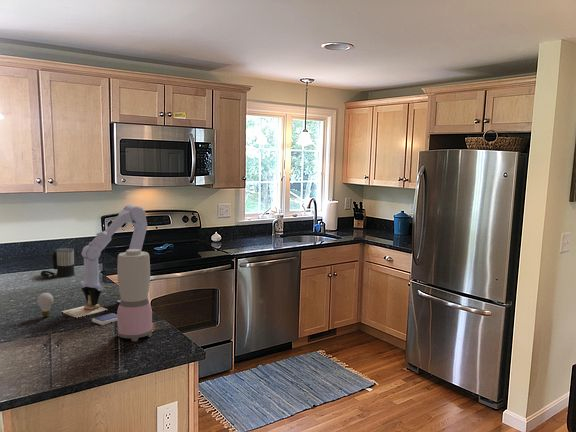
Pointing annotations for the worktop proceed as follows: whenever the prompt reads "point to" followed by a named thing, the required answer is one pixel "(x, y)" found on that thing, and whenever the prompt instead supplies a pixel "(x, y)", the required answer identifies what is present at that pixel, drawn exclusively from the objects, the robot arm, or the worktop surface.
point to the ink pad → (105, 319)
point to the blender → (134, 295)
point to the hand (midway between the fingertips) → (92, 304)
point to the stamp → (90, 306)
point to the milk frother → (62, 263)
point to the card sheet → (82, 311)
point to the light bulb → (45, 303)
